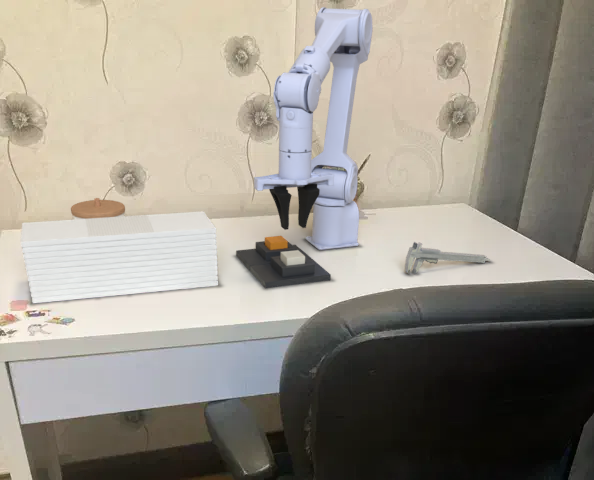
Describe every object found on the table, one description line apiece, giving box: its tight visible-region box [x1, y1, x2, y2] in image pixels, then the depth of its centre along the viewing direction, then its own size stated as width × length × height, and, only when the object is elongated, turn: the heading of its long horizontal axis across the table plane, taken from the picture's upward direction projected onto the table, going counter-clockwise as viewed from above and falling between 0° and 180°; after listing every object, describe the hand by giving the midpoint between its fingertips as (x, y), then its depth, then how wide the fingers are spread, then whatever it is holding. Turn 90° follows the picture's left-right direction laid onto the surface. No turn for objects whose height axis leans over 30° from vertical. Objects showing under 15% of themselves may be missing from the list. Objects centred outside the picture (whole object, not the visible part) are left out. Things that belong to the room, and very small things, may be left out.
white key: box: [281, 250, 305, 266], centre depth 124 cm, size 4×4×2 cm
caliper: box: [404, 241, 491, 275], centre depth 130 cm, size 20×1×6 cm, turn 116°
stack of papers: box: [20, 210, 219, 304], centre depth 118 cm, size 32×11×11 cm, turn 108°
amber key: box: [264, 235, 289, 250], centre depth 132 cm, size 4×4×2 cm
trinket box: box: [70, 197, 126, 220], centre depth 137 cm, size 11×11×9 cm
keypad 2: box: [249, 256, 332, 289], centre depth 125 cm, size 13×9×3 cm
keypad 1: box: [235, 240, 313, 272], centre depth 132 cm, size 13×9×3 cm
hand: (293, 227), depth 121 cm, fingers open, 3 cm apart
